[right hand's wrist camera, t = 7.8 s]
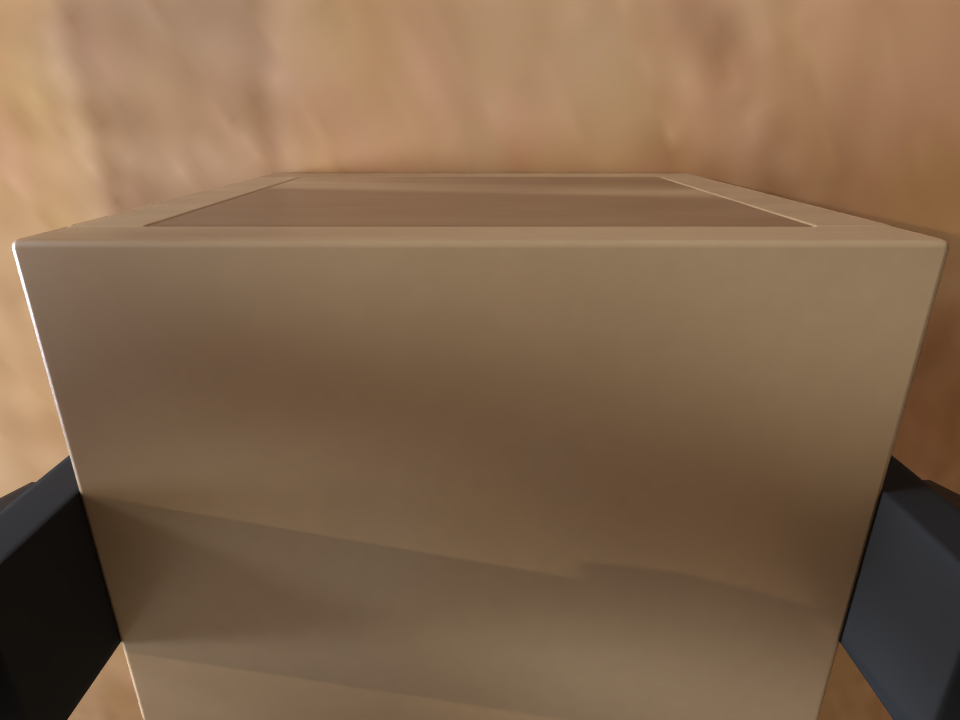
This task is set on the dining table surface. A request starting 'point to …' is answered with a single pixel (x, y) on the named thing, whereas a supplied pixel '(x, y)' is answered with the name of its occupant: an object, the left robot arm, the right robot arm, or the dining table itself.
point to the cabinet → (480, 440)
